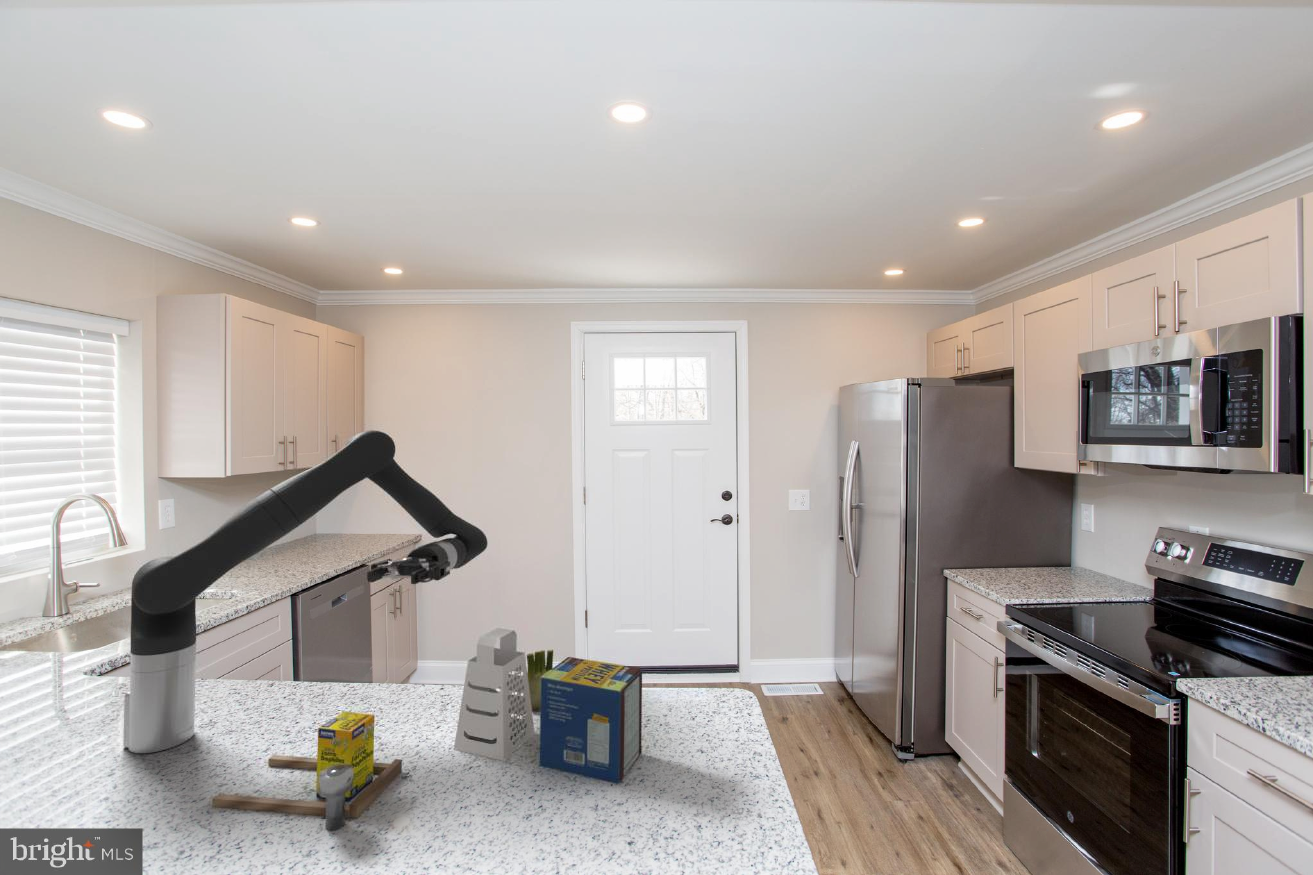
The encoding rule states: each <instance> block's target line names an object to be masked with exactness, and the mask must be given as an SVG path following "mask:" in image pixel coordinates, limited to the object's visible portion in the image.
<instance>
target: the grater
mask: <svg viewBox="0 0 1313 875" xmlns="http://www.w3.org/2000/svg"><path fill="white" fill-rule="evenodd" d="M517 636H518V635H517V632H516V631H515V630H514V629H507V628H506V629H505V628H500V627H499V628H498V627H497V628H495V629H493V630H491V631H489V632H487V633H485V634H484V635H482V636H481V635H480V637H479V639H478V641H477V644H476V656H473V657H472V658H470V659H469V660H467V665H466V672H465V678H464V685H463V689H462V696H461V703H460V709H459V716H458V719H457V720H458V722H457V728H456V733H455V740H454V747H453V750H454V749H455V750H454V751H459V752H462V751H463V753H466V754H467V753H468V754H472V755H476V756H480V757H484V758H490V759H493V760H499V761H502V762H503V761H505V760H506V759H508V757H509V756H510V755H512V754H513V753H514V752H515V751H516V750H517V749H519V748H521V746H522V745H523V744H525V742H527V741H528V740H529V739H530V738H531V737H532V736H533V735H534V734H535V733H536V732H535V722H534V718H533V716H534V715H533V710H532V707H531V699H530V691H529V683H528V675H527V673H528V667H527V662H526V661H527V658H526V653H525V652H523V651H517V641H518V638H517ZM498 640H499V648H497V647H495V646H496V644H497V641H498ZM513 673H514V674H513ZM497 689H499V691H498V690H497ZM521 694H522V695H521ZM521 716H522V717H521ZM513 729H514V731H513ZM518 731H519V733H518ZM515 733H516V735H515ZM524 733H525V735H524ZM521 735H522V737H521ZM471 737H475V738H480V739H484V740H490V741H493V740H495V739H496V742H495V743H487V742H482V741H477V740H473V739H470V738H471ZM511 737H512V739H511ZM517 739H518V741H517ZM514 742H515V743H514Z"/></svg>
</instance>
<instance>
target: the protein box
mask: <svg viewBox="0 0 1313 875" xmlns="http://www.w3.org/2000/svg"><path fill="white" fill-rule="evenodd" d="M642 699H643V669H642V667H638V666H632V665H631V666H630V665H624V664H618V663H617V664H616V663H611V662H610V663H609V662H603V661H598V660H591V659H585V658H578V657H571V656H568V657H566V658H565V659H564V660H562V661H561V662H559V663H558V664H556V665H555V666H554V667H553V668H552V669H551V670H549V671H548V672H547V673H545V674H544V675H542V676H541V709H540V710H539V711H540V713H539V714H540V719H539V762H538V763H539V764H538V766H541V767H544V768H545V767H546V768H549V769H553V770H558V771H562V772H567V773H571V774H575V775H580V776H583V777H588V778H592V779H596V780H600V781H605V782H608V783H613V784H620V783H621V782H622V780H624V777H625V776H626V775H627V773H628V772H629V771H630V769H631V768H632V766H633V765H634V764H635V762H636V761H637V760H638V758H639V757H640V756H641V754H642V753H643V752H642V746H643V744H642V735H643V734H642V726H643V725H642V724H643V723H642V722H643V720H642V718H643V716H642V714H643V711H642V710H643V709H642V708H643V707H642V706H643V703H642V702H643V700H642Z"/></svg>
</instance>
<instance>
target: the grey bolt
mask: <svg viewBox="0 0 1313 875" xmlns="http://www.w3.org/2000/svg"><path fill="white" fill-rule="evenodd" d="M352 787H353V766H352V765H350V764H337V765H333V766H330V767H328V768H326V769H324V770H323V771H321V772H320V774H319V788H318V794H319V796H321V797H324V798H326V816H325V830H326V831H328V832H332V831H333V832H334V831H337V830H341V829H342V827H344V825H345V821H346V820H345V819H346V818H345V793H347V792H348V791H349V790H351V788H352Z"/></svg>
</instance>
